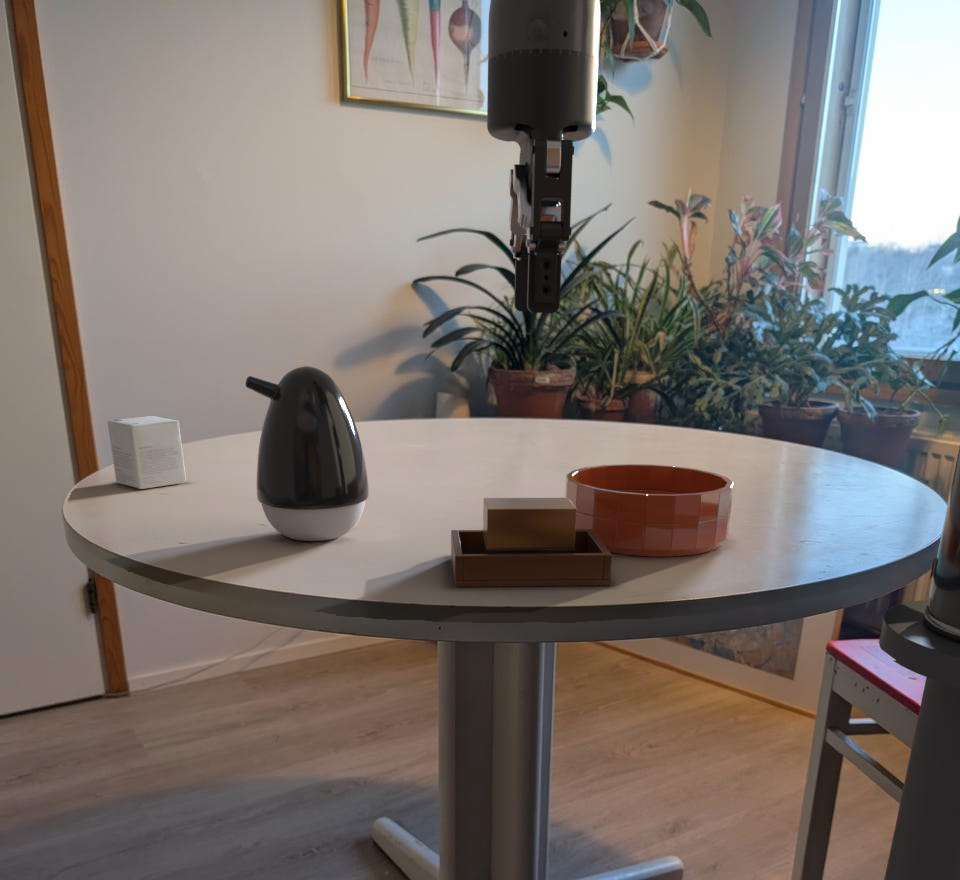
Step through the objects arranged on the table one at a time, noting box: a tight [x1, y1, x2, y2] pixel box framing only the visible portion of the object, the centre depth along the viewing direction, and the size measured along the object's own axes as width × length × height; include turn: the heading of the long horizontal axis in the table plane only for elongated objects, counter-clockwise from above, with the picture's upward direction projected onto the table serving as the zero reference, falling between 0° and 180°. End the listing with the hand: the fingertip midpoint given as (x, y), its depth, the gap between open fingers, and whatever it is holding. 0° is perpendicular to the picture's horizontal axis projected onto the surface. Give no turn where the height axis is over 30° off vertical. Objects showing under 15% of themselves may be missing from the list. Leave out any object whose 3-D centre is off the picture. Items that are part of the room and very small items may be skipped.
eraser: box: [482, 497, 577, 554], centre depth 72 cm, size 7×4×5 cm, turn 94°
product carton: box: [107, 415, 187, 490], centre depth 104 cm, size 6×6×7 cm
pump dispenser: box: [244, 365, 370, 542], centre depth 81 cm, size 10×10×15 cm
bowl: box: [564, 463, 735, 558], centre depth 84 cm, size 15×15×6 cm
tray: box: [450, 529, 613, 588], centre depth 73 cm, size 12×8×2 cm
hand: (535, 311), depth 66 cm, fingers open, 8 cm apart
